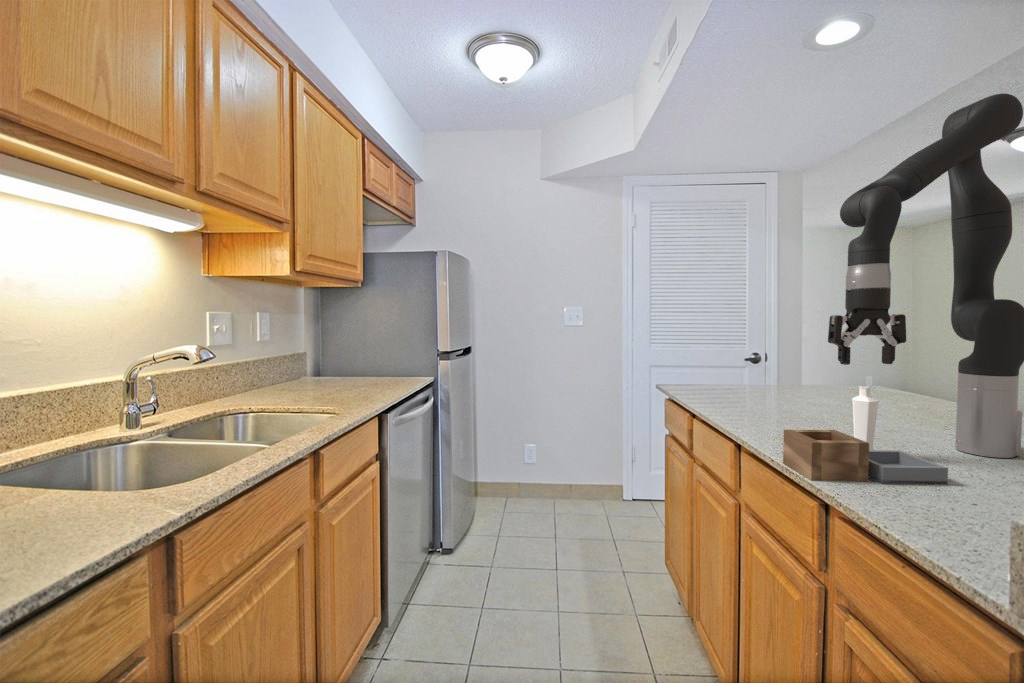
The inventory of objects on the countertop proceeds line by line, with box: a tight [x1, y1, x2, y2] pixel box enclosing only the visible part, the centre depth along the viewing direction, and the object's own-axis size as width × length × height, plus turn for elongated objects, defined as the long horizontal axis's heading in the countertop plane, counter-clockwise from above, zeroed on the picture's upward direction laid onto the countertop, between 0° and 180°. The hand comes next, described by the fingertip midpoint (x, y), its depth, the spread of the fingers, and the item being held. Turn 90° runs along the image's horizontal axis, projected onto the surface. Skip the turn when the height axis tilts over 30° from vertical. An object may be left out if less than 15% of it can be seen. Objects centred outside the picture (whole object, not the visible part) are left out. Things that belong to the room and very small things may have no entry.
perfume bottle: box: [852, 385, 879, 450], centre depth 99 cm, size 5×4×15 cm
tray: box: [868, 449, 949, 486], centre depth 89 cm, size 11×11×3 cm
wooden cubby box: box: [782, 429, 869, 482], centre depth 90 cm, size 10×10×7 cm
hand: (865, 364), depth 99 cm, fingers open, 8 cm apart
